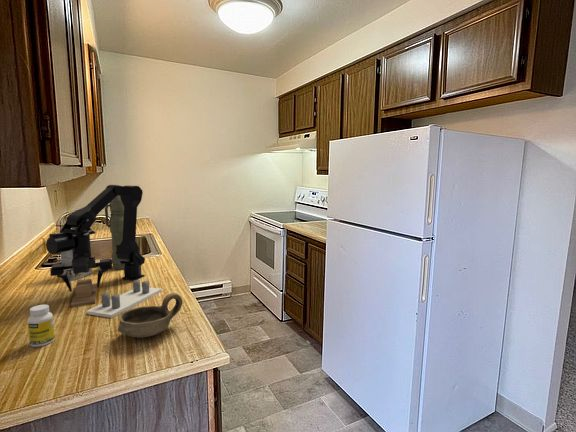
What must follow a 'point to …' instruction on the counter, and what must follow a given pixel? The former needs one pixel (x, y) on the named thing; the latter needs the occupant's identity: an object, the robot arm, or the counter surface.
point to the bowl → (149, 318)
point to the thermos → (116, 228)
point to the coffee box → (67, 259)
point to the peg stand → (123, 300)
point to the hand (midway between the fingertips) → (84, 289)
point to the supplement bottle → (40, 326)
